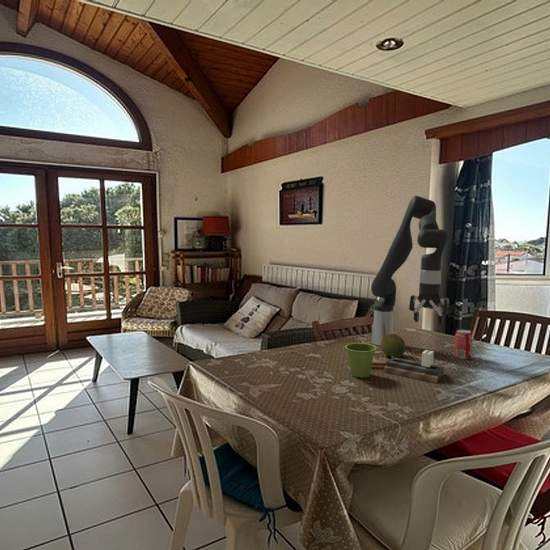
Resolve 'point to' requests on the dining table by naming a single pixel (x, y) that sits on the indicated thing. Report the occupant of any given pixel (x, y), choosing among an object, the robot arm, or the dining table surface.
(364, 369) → the plant pot
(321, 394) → the dining table surface
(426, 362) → the fader knob
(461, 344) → the soda can
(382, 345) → the fruit
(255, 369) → the dining table surface
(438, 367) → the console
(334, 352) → the dining table surface
